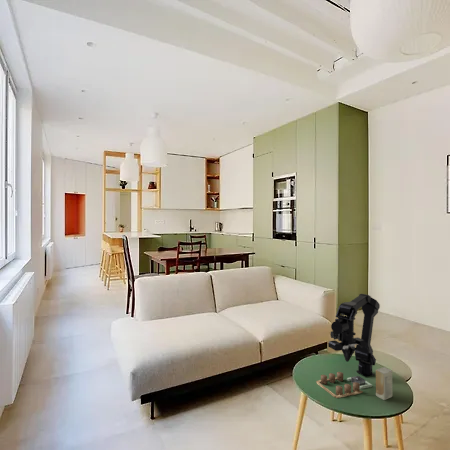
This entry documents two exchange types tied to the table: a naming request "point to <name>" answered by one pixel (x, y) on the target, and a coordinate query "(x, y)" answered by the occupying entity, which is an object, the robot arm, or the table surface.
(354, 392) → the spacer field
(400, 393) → the table surface
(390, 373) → the skincare box
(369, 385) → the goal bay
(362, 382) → the grey knob block
